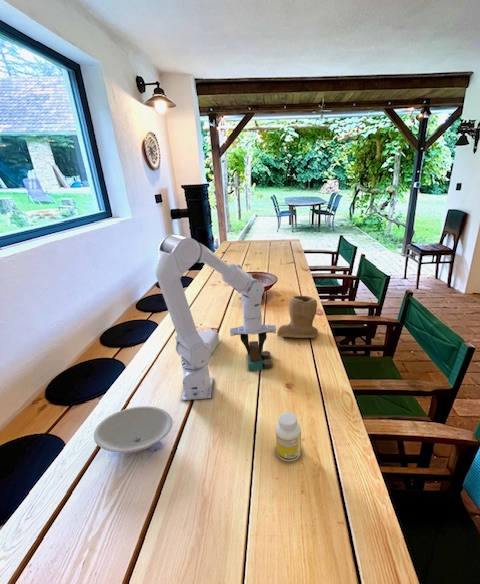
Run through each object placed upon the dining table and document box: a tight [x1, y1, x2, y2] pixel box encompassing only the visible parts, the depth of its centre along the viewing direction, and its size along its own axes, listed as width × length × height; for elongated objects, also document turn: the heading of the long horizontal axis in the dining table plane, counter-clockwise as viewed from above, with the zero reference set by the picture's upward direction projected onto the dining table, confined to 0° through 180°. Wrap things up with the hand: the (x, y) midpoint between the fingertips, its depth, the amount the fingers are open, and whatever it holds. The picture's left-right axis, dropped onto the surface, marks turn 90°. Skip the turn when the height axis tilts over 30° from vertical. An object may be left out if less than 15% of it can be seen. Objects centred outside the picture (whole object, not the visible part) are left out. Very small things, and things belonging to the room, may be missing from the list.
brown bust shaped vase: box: [276, 295, 319, 339], centre depth 121 cm, size 15×12×15 cm
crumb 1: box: [261, 350, 271, 360], centre depth 109 cm, size 3×3×2 cm
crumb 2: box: [262, 359, 273, 370], centre depth 104 cm, size 3×3×2 cm
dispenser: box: [197, 328, 220, 355], centre depth 118 cm, size 5×9×15 cm
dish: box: [93, 405, 173, 454], centre depth 75 cm, size 18×14×5 cm
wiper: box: [247, 340, 264, 372], centre depth 106 cm, size 10×4×6 cm, turn 5°
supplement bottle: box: [275, 411, 302, 462], centre depth 70 cm, size 5×5×10 cm
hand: (254, 353), depth 106 cm, fingers closed on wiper, 3 cm apart
